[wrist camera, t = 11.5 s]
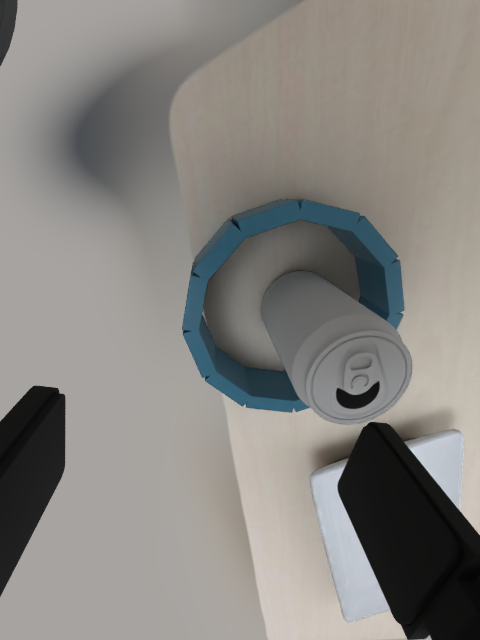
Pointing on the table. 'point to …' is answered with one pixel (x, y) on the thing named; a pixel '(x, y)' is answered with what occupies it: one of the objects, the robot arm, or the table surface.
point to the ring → (352, 230)
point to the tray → (341, 539)
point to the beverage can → (335, 349)
